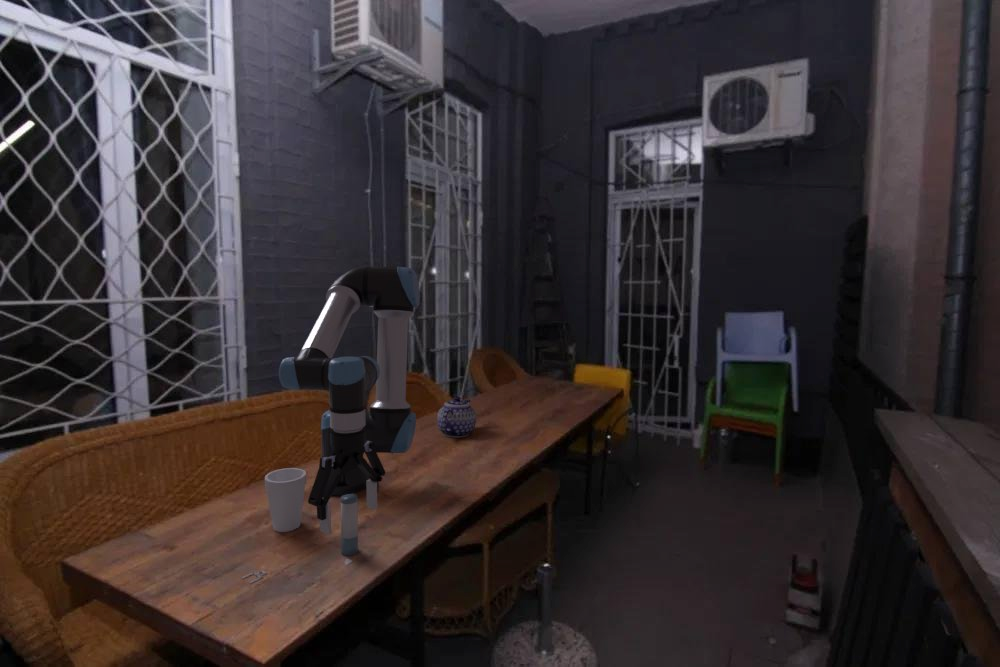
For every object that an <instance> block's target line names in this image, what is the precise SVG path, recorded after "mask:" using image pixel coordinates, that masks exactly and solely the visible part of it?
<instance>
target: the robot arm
mask: <svg viewBox="0 0 1000 667" xmlns="http://www.w3.org/2000/svg"><path fill="white" fill-rule="evenodd" d="M420 294H421V293H420V286H419V281H418V276H417V273H416V271H415V270H414V269H413V268H411V267H407V266H404V267H403V266H365V265H364V266H363V265H362V266H357V267H355V268H351V269H350V270H348V271H347V272H345V273H343V274H342V275H340V276H339V277H338V278H337V279H335V281H334V282H333V283H332V284H331V285H330V287H329V288H328V290H327V292H326V295H325V300H326V302H325V303H324V306H323V307H322V310H321V311H320V314H319V315H318V317H317V319H316V321H315V323H314V325H313V326H312V329H311V331H310V332H309V335H308V336H307V338H306V340H305V342H304V343H303V345H302V347H301V349H300V351H299V353H298V354H297V356H296V357H295V356H291V357H285V358H283V359H282V361H281V362H280V365H279V368H278V379H279V381H280V384H281V385H280V386H282V388H284V389H290V390H298V391H303V390H305V391H310V390H311V391H328V396H329V409H328V410H326V411H324V412H323V414H322V415H321V422H320V425H321V426H320V433H321V436H320V439H321V442H320V443H321V457H320V458H319V465H318V466H319V467H318V470H317V473H316V475H315V476H316V477H315V478H314V482H313V485H312V488H311V491H310V493H309V497H308V499H307V503H308V504H310V505H311V506H314V507H316V518H317V519H318V520H319V532H322V533H324V534H326V535H330V534H332V515H331V514H332V511H331V505H332V504H331V503H329V501H330V499H331V497H332V496H343V495H346V494H356V493H359V492H361V491H364V490H366V508H369V509H372V510H374V511H376V510H378V493H379V491H380V490H379V489H380V488H379V484H380V483H381V482H382V481H383V477H384V476H385V475H386V471H385V468H384V466H383V464H382V462H381V459H380V457H379V455H378V453H379V454H380V453H381V454H391V455H393V454H404V453H406V452H408V451H409V450H410V448H411V446H412V444H413V440H414V436H415V430H416V426H417V425H416V424H417V417H416V416H417V415H416V413H415V412H413V411H411V405H410V404H409V403H408V402H407V400H406V397H407V396H406V395H407V393H406V392H407V391H406V390H407V365H408V361H407V360H408V333H409V319H410V318H411V317H412V316H413V315H414V311H415V310H414V309H415V308H418V307H419V306H420V300H421V297H420V296H421V295H420ZM365 306H366V307H373V309H372V310H373V311H372V312H373V314H374V315H376V317H377V318H378V320H377V343H376V344H377V345H376V346H377V351H376V353H377V354H376V359H374V358H372V357H371V356H367V355H362V356H340V357H335V358H334V357H333V356H334V354H335V352H336V350H337V348H338V345H339V343H340V342H341V338H342V337H343V334H344V332H345V330H346V327H347V325H348V323H349V321H350V320H351V317H352V315H353V314H354V313H356V312H357V311H358V310H359V309H360V307H365ZM373 386H375V400H374V401H373V402H372V404H370V405H369V411H366V391H368V390H369V389H371V388H372V387H373ZM364 454H365V455H366V458H367V460H368V461H367V460H366V459H365V458H364ZM368 462H369V463H368Z"/></svg>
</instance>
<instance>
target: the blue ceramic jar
mask: <svg viewBox="0 0 1000 667" xmlns="http://www.w3.org/2000/svg"><path fill="white" fill-rule="evenodd" d="M453 399H454V400H448V401H445V402H444V404H443V406H441V408H440V409H439V410H438V412H437V416H436V419H437V420H436V424H437V427H438V429H439V430H440V432H441V433H442V434H443V435H444V436H445V437H448V438H457V439H458V438H465V437H468V436H469V435H470V433H472V432H473V430H475V427H476V424H477V414H476V411H475V410H474V408H473V407H472V406H471V404H470V403H471V399H467V398H465V399H464V400H461V399H462V398H461V397H460V396H458V395H457V396H454V397H453Z"/></svg>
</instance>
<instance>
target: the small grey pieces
mask: <svg viewBox="0 0 1000 667" xmlns="http://www.w3.org/2000/svg"><path fill="white" fill-rule="evenodd" d="M352 562H353V560H351V559H350V558H345V560H344V565H345V566H347V565H349V564H350V563H352ZM261 572H262V573H261ZM267 574H268V572H266V571H265V570H263V569H261V570H259V571H257V572H256V571H254V570H253V571H251V573H248V574H246V575H244V576H242V577H241V578H240V579H242V580H244V579H246V578H249V577H251V576H253V575H254V576H255V577H257V578H254V579H252V580H251V581H248V584H250V585H251V584H253V583H256V582H257V581H259V580H261V579H263V578H264V577H263V576H265V575H267ZM250 575H251V576H250Z"/></svg>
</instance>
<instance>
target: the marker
mask: <svg viewBox="0 0 1000 667" xmlns="http://www.w3.org/2000/svg"><path fill="white" fill-rule="evenodd" d="M358 505H359V504H358V495H357V494H356V493H353V494H346V495H341V496H340V533H341V534H340V536H341V537H340V538H341V539H340V542H341V546H340V547H341V555H342V556H345V557H352V556H355V555H356V554H358V553H359V528H358V527H359V523H358V522H359V520H358V517H359V516H358V515H359V514H358V511H359V510H358V508H359V506H358Z"/></svg>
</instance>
